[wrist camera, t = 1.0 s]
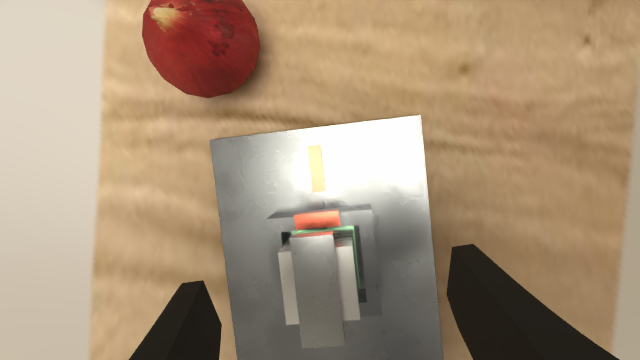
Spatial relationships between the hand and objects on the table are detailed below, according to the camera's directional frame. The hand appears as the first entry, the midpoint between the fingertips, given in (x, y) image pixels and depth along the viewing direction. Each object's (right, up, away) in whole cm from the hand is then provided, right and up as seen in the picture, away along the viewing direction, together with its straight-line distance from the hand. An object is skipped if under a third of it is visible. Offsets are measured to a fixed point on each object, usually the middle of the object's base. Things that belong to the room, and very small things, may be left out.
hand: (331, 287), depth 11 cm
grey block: (0, -2, +13) cm, 13 cm away
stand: (0, -2, +13) cm, 13 cm away
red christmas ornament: (-6, +11, +13) cm, 18 cm away
